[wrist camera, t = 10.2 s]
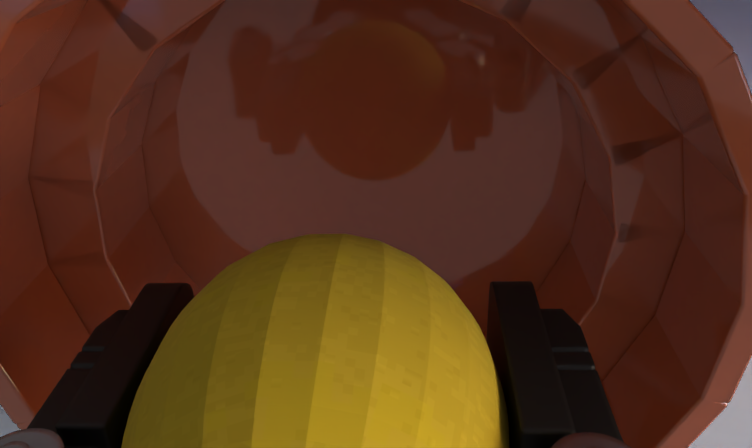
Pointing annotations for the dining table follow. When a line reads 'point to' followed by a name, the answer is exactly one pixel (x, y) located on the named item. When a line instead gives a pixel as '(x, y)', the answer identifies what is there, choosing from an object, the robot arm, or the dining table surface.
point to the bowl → (387, 170)
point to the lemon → (322, 357)
